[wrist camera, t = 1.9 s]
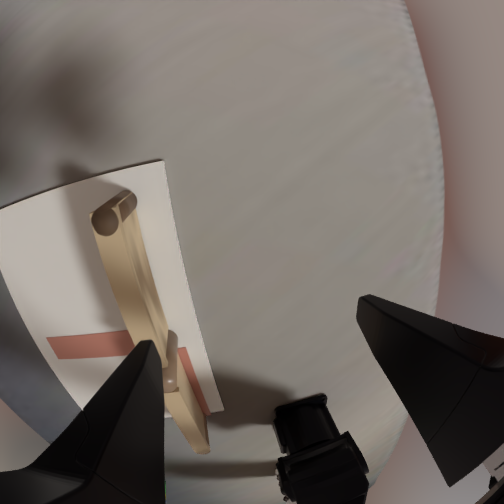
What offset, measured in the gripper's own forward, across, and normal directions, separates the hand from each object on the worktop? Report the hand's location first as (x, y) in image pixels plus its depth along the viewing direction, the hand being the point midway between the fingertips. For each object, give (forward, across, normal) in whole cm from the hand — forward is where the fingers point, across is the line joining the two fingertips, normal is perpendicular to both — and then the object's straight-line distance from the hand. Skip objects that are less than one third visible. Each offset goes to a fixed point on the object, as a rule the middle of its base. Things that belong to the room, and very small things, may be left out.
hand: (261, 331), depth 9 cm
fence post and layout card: (+12, +12, +8) cm, 19 cm away
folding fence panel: (+12, +6, +2) cm, 13 cm away
